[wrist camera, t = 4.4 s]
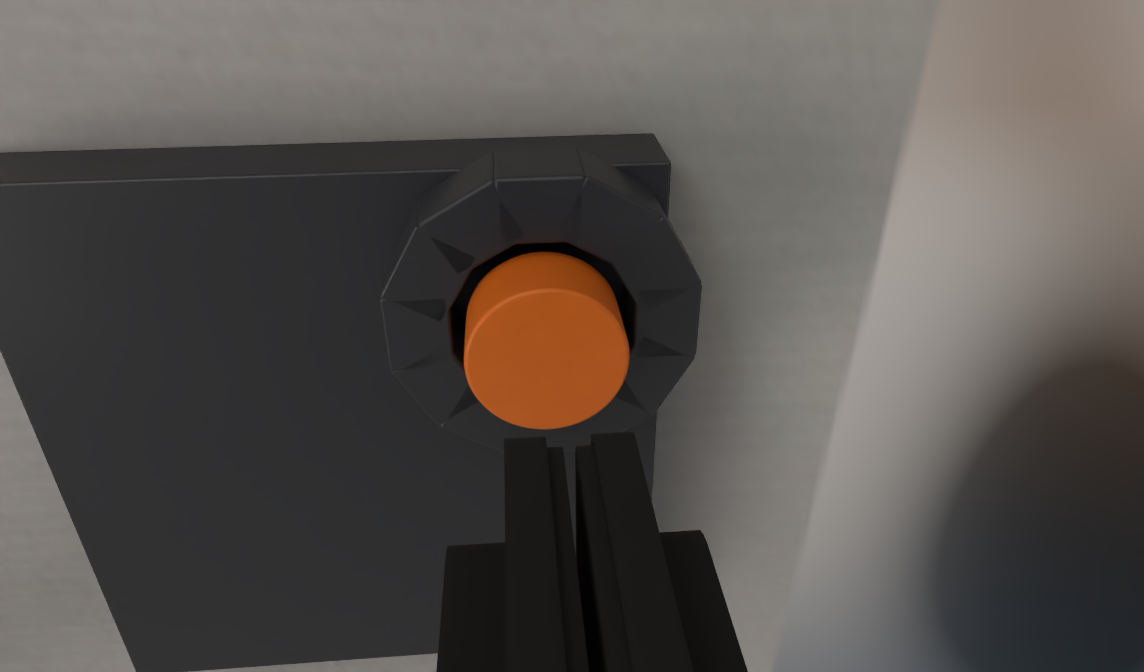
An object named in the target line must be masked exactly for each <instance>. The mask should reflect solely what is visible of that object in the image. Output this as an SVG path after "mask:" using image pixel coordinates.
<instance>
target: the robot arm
mask: <svg viewBox="0 0 1144 672" xmlns="http://www.w3.org/2000/svg"><path fill="white" fill-rule="evenodd" d="M575 485H576V555H575V546H574V537H573V529H572V520H571V512H570V503H569V494H568V486H567V477H566V468H565V460H564V451H563V447H547V444H546V436H540V437H521V438H504V486H505V542H502V543H486V544H470V545H454V546H447V550H446V557H445V569H444V582H443V595H442V608H441V621H440V634H439V647H438V660H437V672H748V671H747V668H746V665H745V662H744V659H743V655H742V652H741V649H740V646H739V643H738V639H737V636H736V633H735V630H734V627H733V624H732V620H731V617H730V614H729V611H728V608H727V605H726V601H725V598H724V595H723V592H722V589H721V586H720V582H719V579H718V576H717V573H716V570H715V567H714V563H713V560H712V557H711V554H710V551H709V548H708V544H707V542H706V539H705V537H704V535H703V533H702V532H701V531H700V530H696V531H680V532H664V533H659V530H658V526H657V522H656V518H655V514H654V510H653V506H652V502H651V498H650V494H649V490H648V486H647V482H646V478H645V474H644V470H643V465H642V461H641V457H640V453H639V449H638V445H637V441H636V437H635V434H634V432H615V433H596V434H591V443H590V445H582V446H576V449H575Z"/></svg>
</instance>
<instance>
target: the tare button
mask: <svg viewBox="0 0 1144 672" xmlns="http://www.w3.org/2000/svg"><path fill="white" fill-rule="evenodd" d="M629 359H630V353H629V344H628V339H627V336H626V332H625V328H624V325H623V321H622V318H621V314H620V311H619V307H618V304H617V300H616V298H615V295H614V292H613V290H612V288H611V287H610V285H609V283H608V282H607V281H606V279H605V278H604V277H603V276H602V275H601V274H600V273H599V272H598V271H597V270H596V269H595V268H593V267H592V266H591V265H589V264H587V263H586V262H584V261H582V260H580V259H578V258H575V257H573V256H570V255H566V254H562V253H556V252H532V253H527V254H522V255H519V256H516V257H513V258H511V259H509V260H507V261H505V262H503V263H501V264H499V265H498V266H496V267H495V268H493V269H492V270H491V271H490V272H489V273H488V274H487V275H485V277H484V278H483V279H482V280H481V281H480V282H479V284H478V285H477V287H476V288H475V290H474V292H473V294H472V296H471V298H470V301H469V304H468V308H467V315H466V328H465V345H464V369H465V375H466V378H467V381H468V384H469V386H470V388H471V390H472V392H473V393H474V395H475V396H476V398H477V399H478V400H479V401H480V402H481V403H482V405H483V406H484V407H485V408H486V409H488V410H489V411H490V412H491V413H493V414H494V415H496V416H497V417H499V418H500V419H502V420H504V421H507V422H509V423H511V424H514V425H517V426H521V427H525V428H531V429H557V428H563V427H567V426H571V425H574V424H577V423H580V422H582V421H584V420H586V419H588V418H590V417H592V416H593V415H595V414H597V413H598V412H599V411H601V410H602V409H603V408H604V407H605V406H607V405H608V404H609V403H610V402H611V401H612V399H613V398H614V397H615V395H616V394H617V393H618V391H619V389H620V388H621V386H622V384H623V382H624V380H625V377H626V375H627V371H628V367H629Z"/></svg>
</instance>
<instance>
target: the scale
mask: <svg viewBox="0 0 1144 672" xmlns="http://www.w3.org/2000/svg"><path fill="white" fill-rule="evenodd" d="M670 173H671V163H670V161H669V159H668V157H667V156H666V154H665V152H664V151H663V149H662V147H661V146H660V144H659V142H658V141H657V139H656V137H655V136H654V134H622V135H588V136H555V137H521V138H487V139H453V140H420V141H386V142H352V143H318V144H284V145H251V146H217V147H183V148H149V149H116V150H82V151H48V152H14V153H0V351H1V353H2V356H3V358H4V360H5V363H6V365H7V367H8V370H9V372H10V374H11V377H12V379H13V382H14V384H15V386H16V389H17V391H18V393H19V396H20V398H21V400H22V403H23V405H24V408H25V410H26V412H27V415H28V417H29V419H30V422H31V424H32V426H33V429H34V431H35V434H36V436H37V438H38V441H39V443H40V445H41V448H42V450H43V452H44V455H45V457H46V460H47V462H48V464H49V467H50V469H51V471H52V474H53V476H54V478H55V481H56V483H57V486H58V488H59V490H60V493H61V495H62V497H63V500H64V502H65V505H66V507H67V509H68V512H69V514H70V516H71V519H72V521H73V523H74V526H75V528H76V531H77V533H78V535H79V538H80V540H81V542H82V545H83V547H84V549H85V552H86V554H87V557H88V559H89V561H90V564H91V566H92V568H93V571H94V573H95V575H96V578H97V580H98V583H99V585H100V587H101V590H102V592H103V594H104V597H105V599H106V601H107V604H108V606H109V609H110V611H111V613H112V616H113V618H114V620H115V623H116V625H117V627H118V630H119V632H120V635H121V637H122V639H123V642H124V644H125V646H126V649H127V651H128V653H129V656H130V658H131V661H132V663H133V665H134V668H135V670H136V672H188V671H201V670H215V669H228V668H242V667H256V666H269V665H283V664H297V663H310V662H324V661H338V660H351V659H365V658H379V657H392V656H406V655H420V654H433V653H438V647H439V634H440V621H441V608H442V595H443V582H444V569H445V557H446V550H447V546H454V545H470V544H486V543H502V542H505V486H504V438H521V437H540V436H546V444H547V447H563V451H564V460H565V468H566V477H567V486H568V494H569V503H570V512H571V520H572V529H573V537H574V546H575V555H576V485H575V449H576V446H582V445H590V443H591V434H596V433H615V432H634V434H635V437H636V441H637V445H638V449H639V453H640V457H641V461H642V465H643V470H644V474H645V478H646V482H647V486H648V490H649V494H650V498H651V501H652V484H653V467H654V450H655V432H656V415H657V409H658V408H659V406H660V405H661V403H662V402H663V401H664V399H665V398H666V397H667V395H668V394H669V392H670V391H671V390H672V388H673V387H674V386H675V384H676V383H677V382H678V380H679V379H680V377H681V376H682V375H683V373H684V372H685V371H686V369H687V368H688V366H689V365H690V364H691V362H692V361H693V360H694V356H695V354H696V348H697V336H698V324H699V313H700V301H701V289H702V286H701V280H700V278H699V276H698V274H697V272H696V270H695V268H694V266H693V264H692V262H691V260H690V258H689V256H688V254H687V252H686V250H685V248H684V246H683V244H682V243H681V241H680V239H679V237H678V236H677V234H676V232H675V230H674V229H673V227H672V225H671V223H670V221H669V220H668V208H669V191H670ZM532 252H556V253H562V254H566V255H570V256H573V257H575V258H578V259H580V260H582V261H584V262H586V263H587V264H589V265H591V266H592V267H593V268H595V269H596V270H597V271H598V272H599V273H600V274H601V275H602V276H603V277H604V278H605V279H606V281H607V282H608V283H609V285H610V287H611V288H612V290H613V292H614V295H615V298H616V300H617V304H618V307H619V311H620V314H621V318H622V321H623V325H624V328H625V332H626V336H627V339H628V344H629V353H630V359H629V367H628V371H627V375H626V377H625V380H624V382H623V384H622V386H621V388H620V389H619V391H618V393H617V394H616V395H615V397H614V398H613V399H612V401H611V402H610V403H609V404H608V405H607V406H605V407H604V408H603V409H602V410H601V411H599V412H598V413H597V414H595V415H593V416H592V417H590V418H588V419H586V420H584V421H582V422H580V423H577V424H574V425H571V426H567V427H563V428H557V429H531V428H525V427H521V426H517V425H514V424H511V423H509V422H507V421H504V420H502V419H500V418H499V417H497V416H496V415H494V414H493V413H491V412H490V411H489V410H488V409H486V408H485V407H484V406H483V405H482V403H481V402H480V401H479V400H478V399H477V398H476V396H475V395H474V393H473V392H472V390H471V388H470V386H469V384H468V381H467V378H466V375H465V369H464V345H465V328H466V315H467V308H468V304H469V301H470V298H471V296H472V294H473V292H474V290H475V288H476V287H477V285H478V284H479V282H480V281H481V280H482V279H483V278H484V277H485V275H487V274H488V273H489V272H490V271H491V270H492V269H493V268H495V267H496V266H498V265H499V264H501V263H503V262H505V261H507V260H509V259H511V258H513V257H516V256H519V255H522V254H527V253H532Z"/></svg>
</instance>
